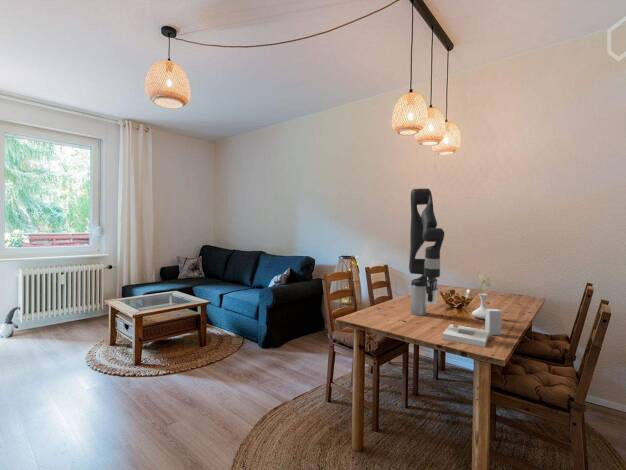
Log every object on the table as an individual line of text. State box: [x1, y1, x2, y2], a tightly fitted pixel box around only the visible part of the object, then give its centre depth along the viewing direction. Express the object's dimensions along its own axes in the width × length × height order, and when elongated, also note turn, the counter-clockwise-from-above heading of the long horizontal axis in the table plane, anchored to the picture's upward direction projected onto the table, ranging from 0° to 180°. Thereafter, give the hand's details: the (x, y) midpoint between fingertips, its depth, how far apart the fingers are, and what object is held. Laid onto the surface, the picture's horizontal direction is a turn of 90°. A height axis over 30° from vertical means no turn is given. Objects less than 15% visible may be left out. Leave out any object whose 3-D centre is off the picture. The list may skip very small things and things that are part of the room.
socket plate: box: [442, 323, 490, 348], centre depth 160 cm, size 18×18×3 cm
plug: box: [426, 288, 438, 306], centre depth 170 cm, size 4×4×9 cm
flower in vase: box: [471, 273, 491, 320], centre depth 194 cm, size 13×11×25 cm
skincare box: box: [484, 308, 502, 336], centre depth 166 cm, size 6×4×12 cm
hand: (431, 300), depth 170 cm, fingers closed on plug, 4 cm apart
